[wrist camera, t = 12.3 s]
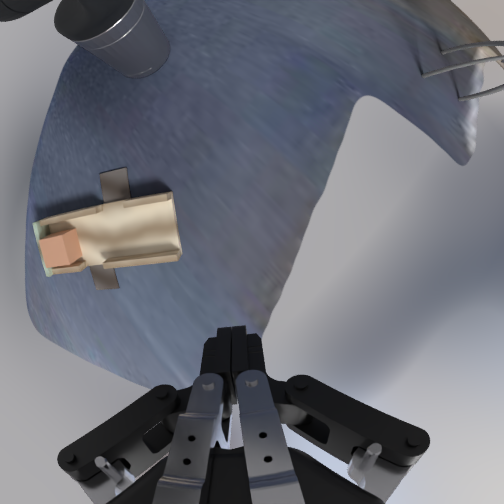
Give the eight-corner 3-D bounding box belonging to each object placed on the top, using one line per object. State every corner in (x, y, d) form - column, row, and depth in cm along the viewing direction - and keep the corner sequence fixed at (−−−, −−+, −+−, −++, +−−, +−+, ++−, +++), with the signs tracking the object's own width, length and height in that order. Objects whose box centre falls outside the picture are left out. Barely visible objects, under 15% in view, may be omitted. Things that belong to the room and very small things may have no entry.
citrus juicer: (441, 50, 32) (547, 21, 3) (468, 87, 34) (575, 79, 6) (420, 75, 34) (545, 45, 6) (450, 115, 36) (574, 115, 8)
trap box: (42, 191, 37) (27, 195, 33) (168, 159, 38) (160, 158, 34) (66, 291, 44) (55, 301, 39) (187, 281, 44) (183, 294, 40)
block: (52, 233, 39) (38, 240, 35) (75, 228, 39) (62, 235, 35) (59, 259, 41) (46, 268, 36) (82, 255, 41) (69, 264, 36)
